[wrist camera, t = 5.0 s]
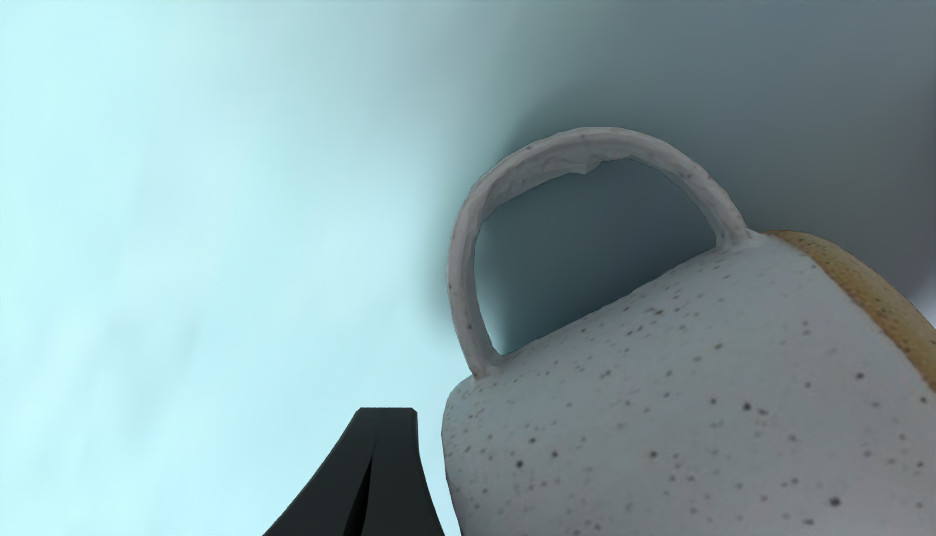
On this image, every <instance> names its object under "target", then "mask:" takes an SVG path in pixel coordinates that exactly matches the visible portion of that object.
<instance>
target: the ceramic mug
mask: <svg viewBox="0 0 936 536" xmlns="http://www.w3.org/2000/svg"><path fill="white" fill-rule="evenodd" d="M625 157H627V158H629V159H631V160H634V161H636V162H639V163H641V164H644V165H646V166H649V167H652V168H655V169H657V170H659V171H660V172H661V173H662V174H664V175H665V176H666V177H667V178H668V179H669V180H670V182H671V183H673V184H674V185H676V186H678V187H679V188H681V189H682V191H683V192H684V193H685V194H686V195H687V196H688V198H689V199H690V200H691V201H692V202H693V203H694V204H695V205H696V206H697V208H698V209H699V210H700V211H701V212H702V213H703V215H704V217H705V218H706V220H707V222H708V223H709V225H710V227H711V228H712V230H713V231H714V233H715V235H716V245H715V247H713V248H711V249H709V250H707V251H705V252H703V253H701V254H699V255H697V256H695V257H693V258H691V259H689V260H687V261H685V262H684V263H681V264H678V265H677V266H676V267H674V268H672V269H669V270H668V271H666V272H665V273H664V274H662V275H661V276H659V277H658V278H656V279H655V280H653V281H650V282H648V283H646V284H644V285H642V286H640V287H639V288H637V289H635V290H633V291H632V292H631V294H629V295H626V296H624V297H622V298H620V299H618V300H616V301H614V302H613V303H611V304H609V305H606V306H603V307H602V308H601V309H599V310H597V311H594V312H592V313H589V314H587V315H586V316H584V317H583V318H581V319H578V320H576V321H574V322H572V323H570V324H568V325H566V326H564V327H562V328H560V329H558V330H555V331H553V332H551V333H549V334H547V335H545V336H543V337H541V338H540V339H535V340H533V341H531V342H530V343H529V344H527V345H524V346H523V347H522V348H520V349H518V350H516V351H514V352H512V353H508V354H507V355H505V356H503V355H499V354H498V353H497V351H496V350H495V349H494V347H493V346H492V343H491V340H490V338H489V335H488V333H487V330H486V328H485V325H484V322H483V319H482V316H481V313H480V309H479V304H478V300H477V294H476V286H475V278H474V256H475V244H476V241H477V237H478V234H479V232H480V227H481V225H482V224H483V222H484V221H485V220H486V219H487V218H488V217H489V216H490V215H491V214H492V213H493V211H494V210H495V209H496V208H497V207H498V206H499V205H501V204H503V203H505V202H507V201H509V200H511V199H513V198H515V197H517V196H519V195H520V194H522V193H524V192H526V191H528V190H530V189H531V188H533V187H536V186H538V185H540V184H542V183H544V182H546V181H549V180H551V179H554V178H557V177H559V176H562V175H565V174H568V173H571V172H573V173H579V174H584V175H585V174H587V173H588V172H590V171H592V170H593V169H595V168H596V167H598V166H599V164H600V163H601V162H602V161H611V160H619V159H623V158H625ZM446 282H447V290H448V296H449V302H450V308H451V314H452V320H453V323H454V327H455V331H456V334H457V337H458V340H459V343H460V346H461V349H462V351H463V354H464V356H465V359H466V362H467V364H468V367H469V369H470V371H471V372H472V375H471V376H469V377H468V378H466V379H465V380H463V381H461V382H460V383H459V384H458V385H457V386H456V387H455V388H454V389H453V390H452V392H451V393H450V395H449V397H448V399H447V403H446V406H445V410H444V414H443V422H442V430H441V437H442V444H443V453H444V461H445V472H446V480H447V483H448V487H449V491H450V495H451V500H452V504H453V508H454V511H455V514H456V517H457V520H458V523H459V527H460V531H461V536H936V329H935V328H934V327H933V326H932V325H931V324H930V323H929V322H928V321H927V320H926V319H925V318H924V316H923V315H922V314H921V313H920V312H919V311H918V310H917V309H916V308H915V307H914V306H913V305H912V304H911V303H910V302H909V301H908V300H907V299H906V298H905V297H904V296H903V295H901V294H900V293H899V292H898V291H897V290H896V289H895V288H894V287H893V286H892V285H891V284H889V283H888V282H887V281H886V280H885V279H884V278H883V277H882V276H880V275H879V274H878V273H876V272H875V271H874V270H872V269H871V268H869V267H868V266H867V265H865V264H864V263H863V262H861V261H860V260H859V259H857V258H856V257H854V256H853V255H852V254H850V253H849V252H847V251H846V250H844V249H843V248H841V247H839V246H838V245H836V244H835V243H833V242H830V241H828V240H825V239H823V238H820V237H818V236H815V235H812V234H809V233H803V232H796V231H790V230H773V231H763V232H760V233H757V232H755V231H753V230H750V229H748V228H747V226H746V224H745V222H744V219H743V217H742V215H741V214H740V212H739V211H738V209H737V208H736V206H735V205H734V204H733V202H732V201H731V199H730V197H729V195H728V193H727V192H726V191H725V190H724V189H723V188H722V187H721V186H720V185H719V184H718V183H716V182H715V181H714V180H713V179H712V178H711V176H710V175H709V174H708V173H707V172H706V170H705V169H704V168H703V167H702V166H700V165H699V164H697V163H696V162H695V161H693V160H692V159H690V158H689V157H687V156H686V155H685V154H683V153H682V152H680V151H679V150H678V149H676V148H675V147H673V146H672V145H670V144H668V143H667V142H665V141H663V140H660V139H658V138H655V137H652V136H649V135H646V134H644V133H640V132H636V131H632V130H628V129H624V128H620V127H578V128H575V129H571V130H568V131H565V132H558V133H556V134H554V135H552V136H549V137H547V138H544V139H541V140H538V141H535V142H532V143H530V144H528V145H526V146H525V147H523V148H521V149H519V150H517V151H515V152H514V153H512V154H510V155H508V156H506V157H505V158H503V159H502V160H501V161H499V162H498V163H497V164H496V165H495V166H493V167H492V168H491V169H490V170H489V171H488V172H486V173H485V174H484V175H483V176H482V177H481V178H480V179H479V180H478V182H477V183H476V184H474V185H473V186H472V188H471V190H470V193H469V195H468V197H467V198H466V200H465V202H464V203H463V205H462V207H461V209H460V210H459V212H458V214H457V215H456V218H455V222H454V225H453V229H452V234H451V238H450V245H449V252H448V259H447V273H446Z"/></svg>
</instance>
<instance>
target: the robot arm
mask: <svg viewBox="0 0 936 536" xmlns="http://www.w3.org/2000/svg"><path fill="white" fill-rule="evenodd" d="M262 536H445V534H444V532H443V530H442V527H441V524H440V522H439V519H438V516H437V514H436V511H435V508H434V505H433V502H432V499H431V496H430V493H429V490H428V486H427V483H426V479H425V475H424V471H423V468H422V464H421V459H420V454H419V443H418V420H417V412H416V411H415V410H414V409H413V408H360V409H359V410H357V411H356V413H355V414H354V416H353V418H352V419H351V421H350V423H349V424H348V426H347V428H346V429H345V431H344V432H343V434H342V435H341V437H340V439H339V440H338V441H337V443H336V444H335V446H334V447H333V449H332V450H331V452H330V453H329V455H328V456H327V457H326V459H325V460H324V462H323V463H322V464H321V466H320V467H319V468H318V470H317V471H316V472H315V474H314V475H313V477H312V478H311V479H310V480H309V482H308V483H307V484H306V486H305V487H304V488H303V489H302V490H301V492H300V493H299V494H298V495H297V497H296V498H295V499H294V500H293V501H292V503H291V504H290V505H289V506H288V507H287V509H286V510H285V511H284V512H283V513H282V515H281V516H280V517H279V518H278V519H277V520H276V521H275V522H274V524H273V525H272V526H271V527H270V528H269V529H268V530H267V531H266V532H265V533H264V534H263V535H262Z"/></svg>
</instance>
